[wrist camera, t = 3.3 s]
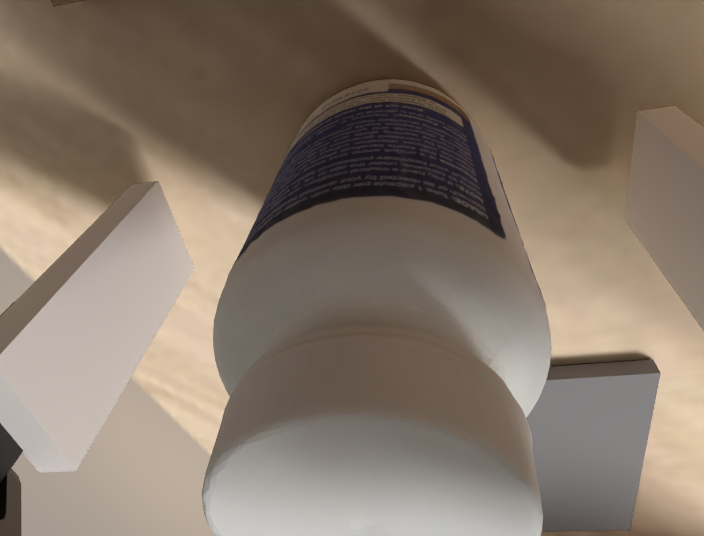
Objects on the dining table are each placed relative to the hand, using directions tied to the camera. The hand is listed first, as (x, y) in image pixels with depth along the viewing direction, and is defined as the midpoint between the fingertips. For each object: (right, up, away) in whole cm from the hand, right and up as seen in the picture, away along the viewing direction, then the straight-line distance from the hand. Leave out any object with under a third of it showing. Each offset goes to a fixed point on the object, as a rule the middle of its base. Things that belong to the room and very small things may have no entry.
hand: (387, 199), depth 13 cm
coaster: (+5, -9, +7) cm, 12 cm away
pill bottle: (0, +1, +1) cm, 1 cm away
